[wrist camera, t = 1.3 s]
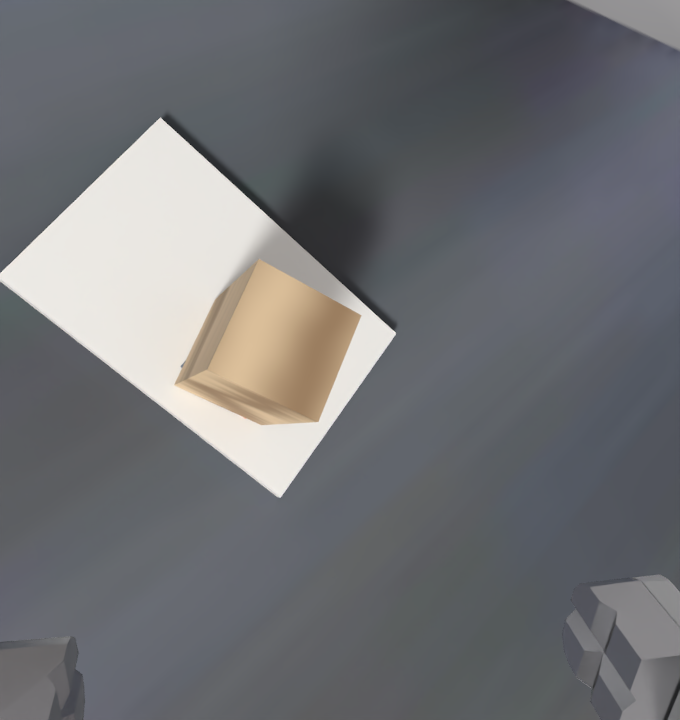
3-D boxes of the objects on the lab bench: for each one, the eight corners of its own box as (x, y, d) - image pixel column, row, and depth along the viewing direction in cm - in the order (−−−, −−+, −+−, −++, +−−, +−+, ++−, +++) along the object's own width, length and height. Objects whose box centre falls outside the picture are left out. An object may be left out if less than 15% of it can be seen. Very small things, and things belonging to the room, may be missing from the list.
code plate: (-2, 279, 36) (-4, 276, 35) (158, 123, 41) (160, 116, 40) (276, 496, 41) (281, 497, 40) (391, 335, 46) (396, 333, 45)
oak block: (173, 385, 38) (207, 369, 29) (215, 299, 40) (258, 258, 31) (261, 425, 40) (318, 422, 31) (297, 341, 42) (361, 315, 33)
